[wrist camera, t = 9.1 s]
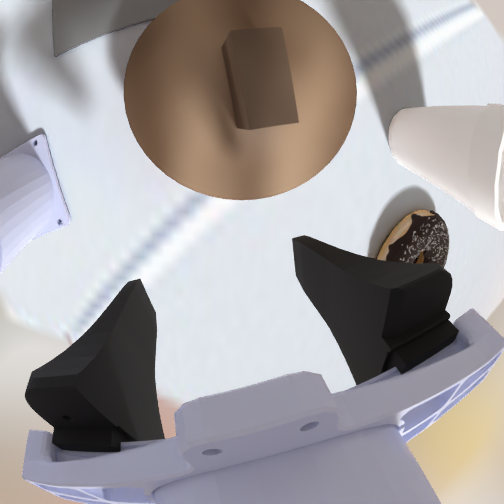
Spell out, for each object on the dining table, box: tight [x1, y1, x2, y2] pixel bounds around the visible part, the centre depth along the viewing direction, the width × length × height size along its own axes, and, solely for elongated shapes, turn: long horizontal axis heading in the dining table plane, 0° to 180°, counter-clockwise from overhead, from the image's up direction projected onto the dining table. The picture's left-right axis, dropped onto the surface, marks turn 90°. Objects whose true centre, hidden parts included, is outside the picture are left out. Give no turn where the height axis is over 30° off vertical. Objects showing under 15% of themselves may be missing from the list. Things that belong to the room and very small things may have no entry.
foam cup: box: [388, 104, 504, 232], centre depth 17 cm, size 10×9×13 cm
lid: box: [124, 0, 357, 200], centre depth 12 cm, size 14×14×4 cm
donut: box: [377, 210, 449, 268], centre depth 28 cm, size 11×12×4 cm
